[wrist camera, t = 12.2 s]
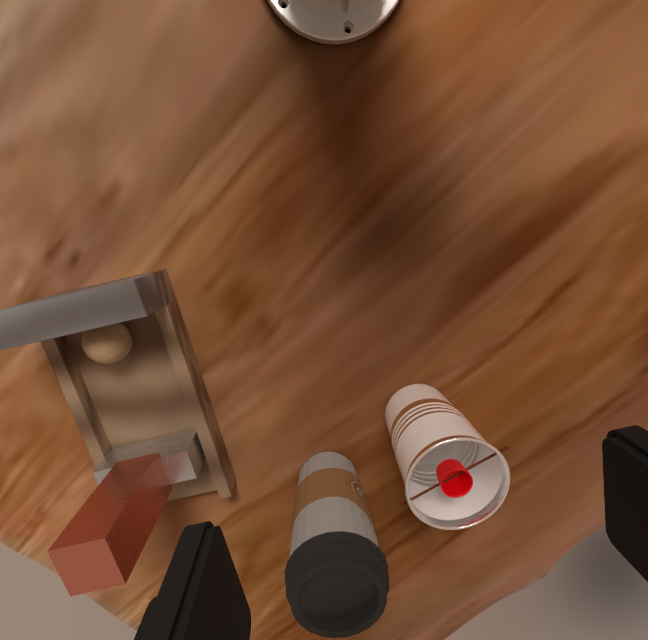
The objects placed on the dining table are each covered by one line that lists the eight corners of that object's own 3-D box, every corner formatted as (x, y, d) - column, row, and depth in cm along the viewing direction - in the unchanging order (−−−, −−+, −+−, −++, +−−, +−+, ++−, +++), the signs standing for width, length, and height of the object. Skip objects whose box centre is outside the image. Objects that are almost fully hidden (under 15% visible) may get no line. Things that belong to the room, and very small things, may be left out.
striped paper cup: (394, 463, 44) (427, 551, 32) (357, 405, 42) (377, 477, 30) (473, 420, 43) (536, 494, 31) (439, 358, 41) (492, 414, 29)
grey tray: (44, 297, 37) (-16, 314, 30) (166, 268, 37) (133, 279, 30) (131, 503, 43) (98, 557, 36) (235, 479, 43) (222, 528, 36)
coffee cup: (375, 489, 44) (409, 619, 30) (309, 516, 45) (311, 657, 30) (347, 429, 42) (369, 539, 28) (277, 458, 43) (264, 581, 28)
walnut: (96, 326, 38) (67, 323, 34) (136, 317, 38) (112, 313, 34) (103, 367, 37) (75, 369, 33) (143, 357, 37) (120, 358, 33)
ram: (111, 443, 40) (11, 559, 26) (196, 424, 40) (140, 530, 26) (125, 476, 41) (35, 604, 27) (208, 457, 41) (160, 576, 27)
